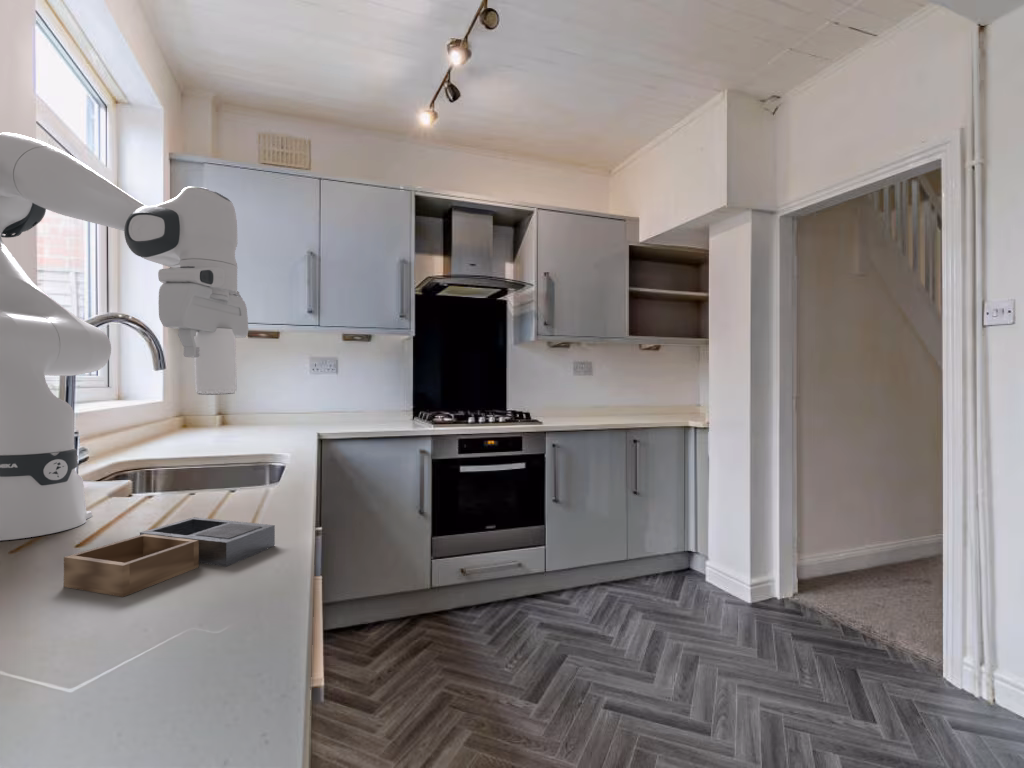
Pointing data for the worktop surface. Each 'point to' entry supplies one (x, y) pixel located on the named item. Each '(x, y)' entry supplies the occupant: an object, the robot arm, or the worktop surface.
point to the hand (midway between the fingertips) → (208, 358)
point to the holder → (130, 564)
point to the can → (216, 362)
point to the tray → (221, 538)
